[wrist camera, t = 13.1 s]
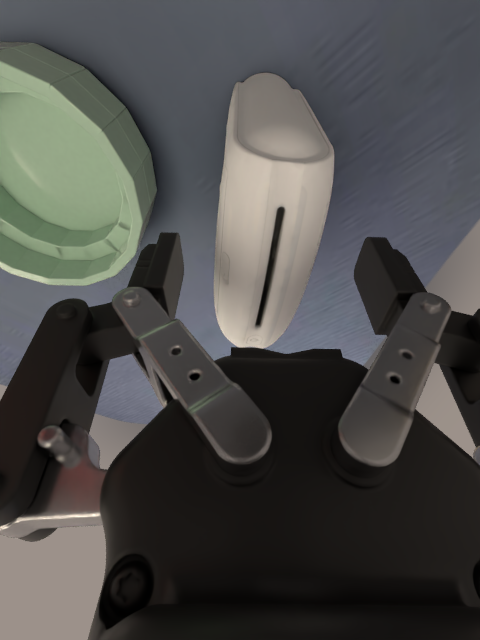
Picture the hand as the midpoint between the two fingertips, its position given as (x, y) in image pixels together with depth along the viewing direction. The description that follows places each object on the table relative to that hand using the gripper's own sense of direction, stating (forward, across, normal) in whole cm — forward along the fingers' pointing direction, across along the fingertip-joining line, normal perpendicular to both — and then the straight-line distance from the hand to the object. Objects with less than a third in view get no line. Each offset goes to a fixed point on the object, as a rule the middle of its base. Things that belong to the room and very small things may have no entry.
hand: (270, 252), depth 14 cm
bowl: (+10, +13, 0) cm, 16 cm away
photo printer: (+10, 0, 0) cm, 10 cm away
